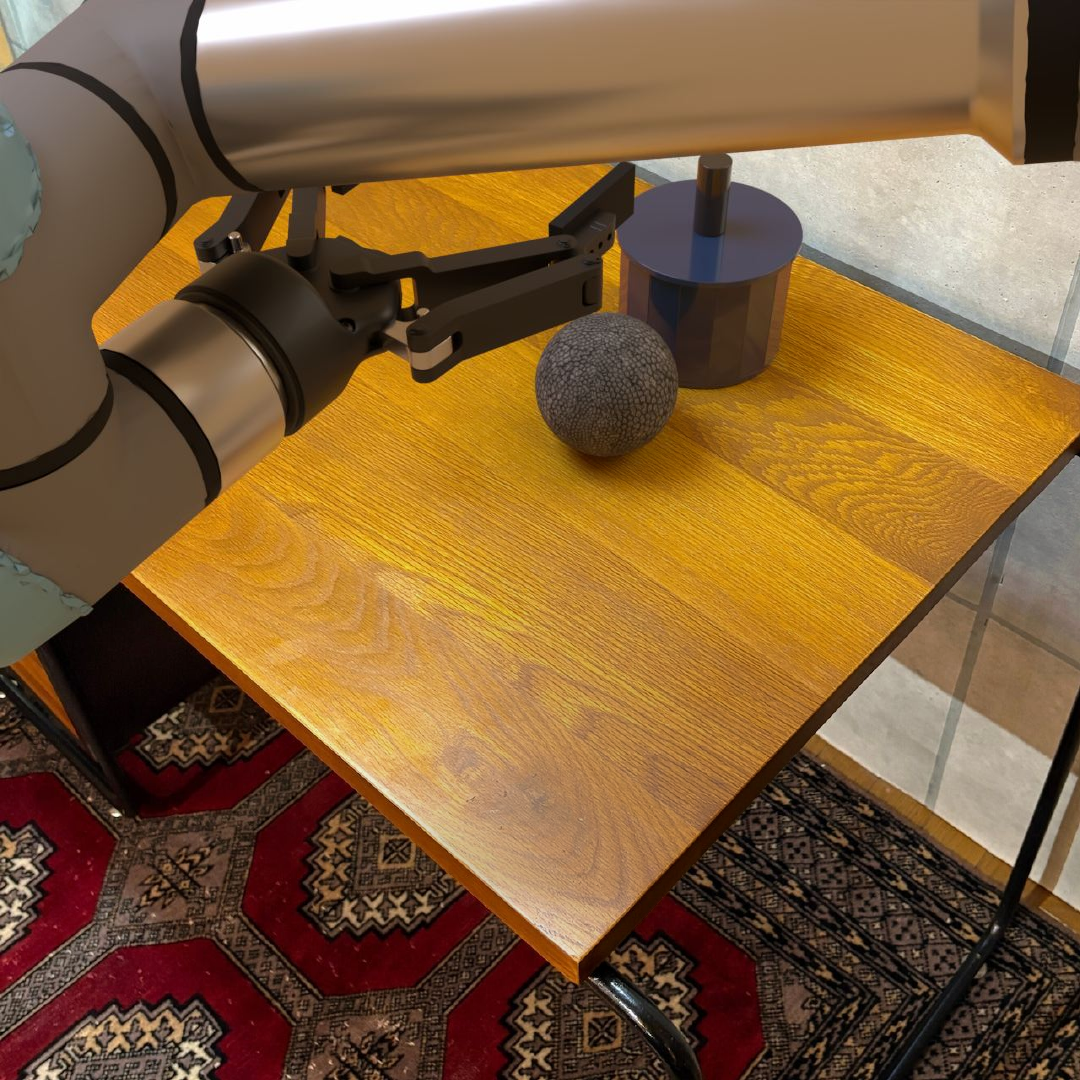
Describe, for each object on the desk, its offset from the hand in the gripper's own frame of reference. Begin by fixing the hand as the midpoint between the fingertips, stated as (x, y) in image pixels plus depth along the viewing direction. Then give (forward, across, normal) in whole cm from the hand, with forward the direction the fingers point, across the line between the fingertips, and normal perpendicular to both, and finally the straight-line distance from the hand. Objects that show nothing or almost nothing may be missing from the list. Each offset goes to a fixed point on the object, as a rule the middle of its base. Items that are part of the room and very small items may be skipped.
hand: (516, 149), depth 63 cm
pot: (+24, 0, -28) cm, 36 cm away
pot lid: (+24, 0, -18) cm, 30 cm away
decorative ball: (+10, 0, -28) cm, 29 cm away
